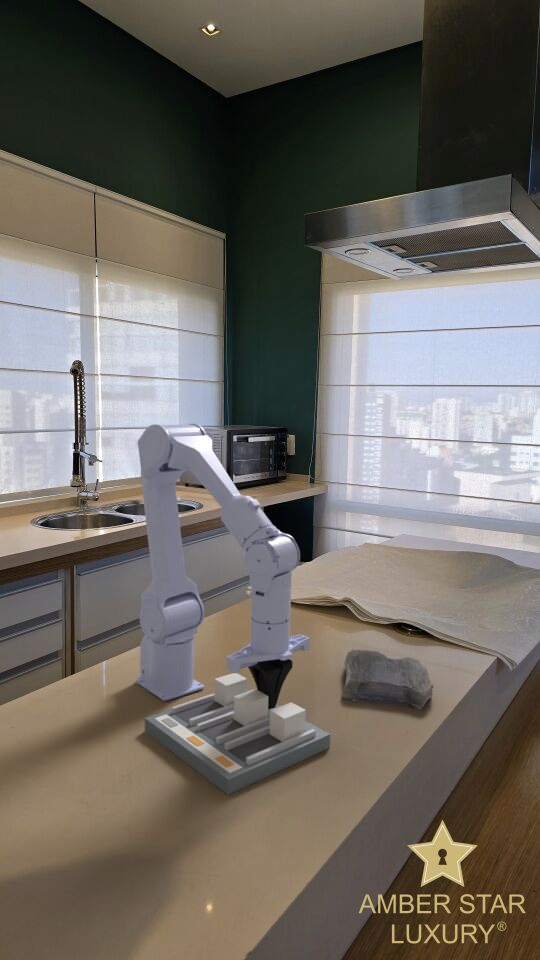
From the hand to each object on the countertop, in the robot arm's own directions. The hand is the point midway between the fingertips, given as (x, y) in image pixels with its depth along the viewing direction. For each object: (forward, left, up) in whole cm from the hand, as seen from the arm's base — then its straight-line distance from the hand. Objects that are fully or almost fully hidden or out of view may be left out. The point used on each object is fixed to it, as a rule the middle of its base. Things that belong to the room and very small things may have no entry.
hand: (268, 706), depth 99 cm
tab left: (-6, -2, -1) cm, 7 cm away
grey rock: (+2, +25, -4) cm, 26 cm away
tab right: (+7, -2, -1) cm, 7 cm away
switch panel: (0, -6, -3) cm, 7 cm away
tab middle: (0, -3, -1) cm, 4 cm away
